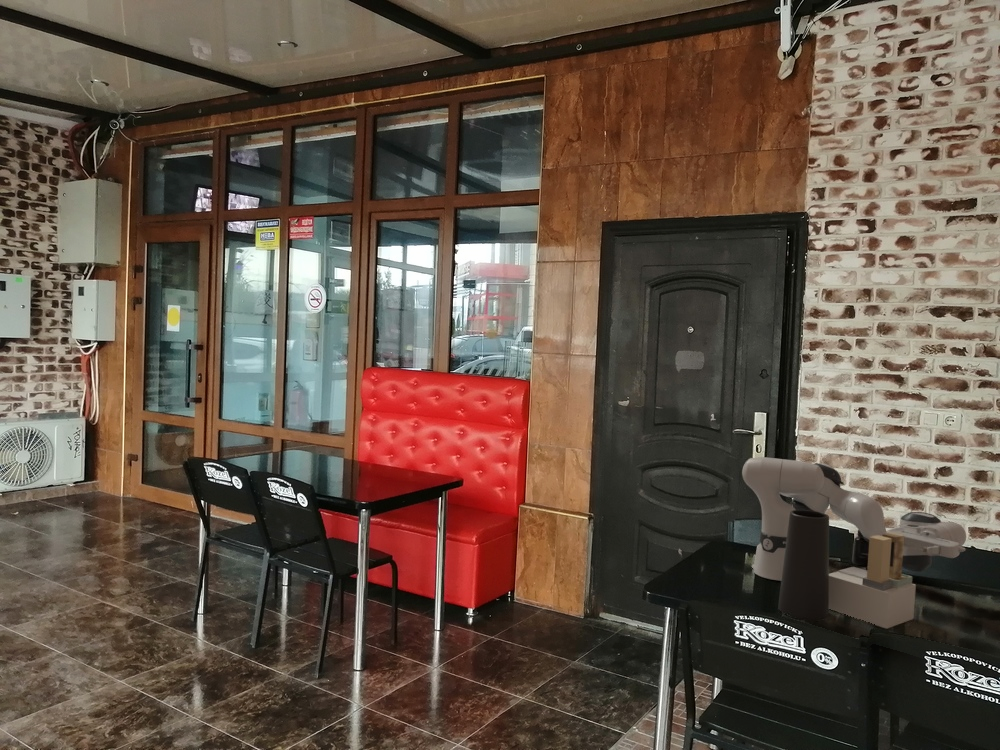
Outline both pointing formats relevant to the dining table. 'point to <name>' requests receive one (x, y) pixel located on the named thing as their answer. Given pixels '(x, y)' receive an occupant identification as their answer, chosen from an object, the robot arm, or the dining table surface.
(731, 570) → the dining table surface
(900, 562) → the block
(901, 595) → the grey boxy piece
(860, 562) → the supplement bottle
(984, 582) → the dining table surface
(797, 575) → the vase
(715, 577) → the dining table surface
